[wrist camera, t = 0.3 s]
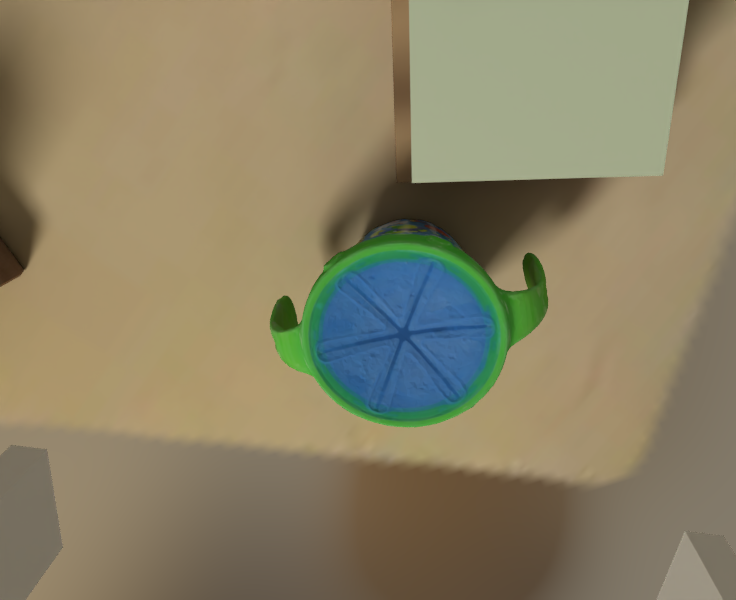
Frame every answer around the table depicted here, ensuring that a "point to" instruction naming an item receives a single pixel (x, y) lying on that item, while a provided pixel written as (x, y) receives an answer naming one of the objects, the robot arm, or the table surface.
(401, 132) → the walnut slab
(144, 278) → the table surface
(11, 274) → the wooden block
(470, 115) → the sage slab
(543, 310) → the snack cup
